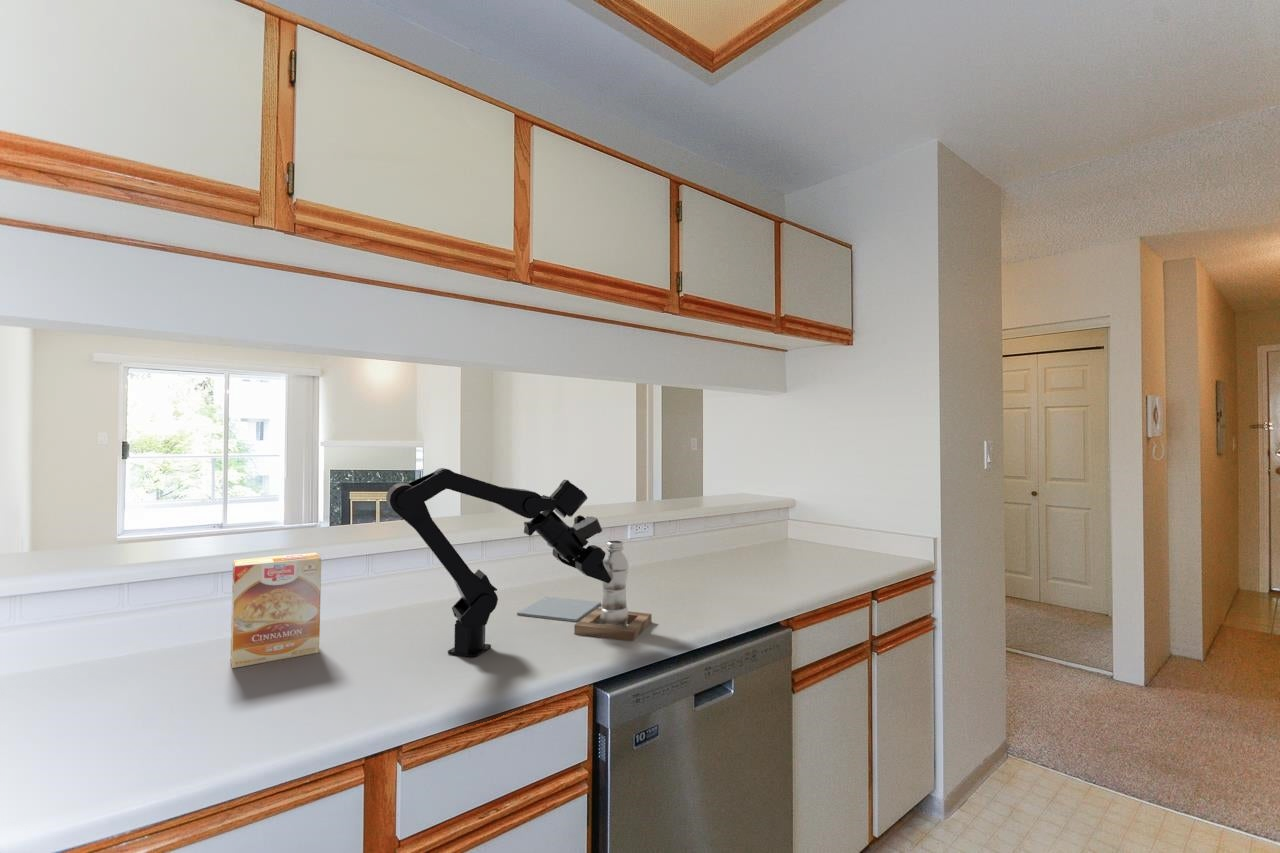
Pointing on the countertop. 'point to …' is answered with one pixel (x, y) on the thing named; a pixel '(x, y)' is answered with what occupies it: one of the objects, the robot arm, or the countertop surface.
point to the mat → (559, 609)
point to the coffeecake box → (275, 608)
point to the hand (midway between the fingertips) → (601, 577)
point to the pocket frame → (630, 632)
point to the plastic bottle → (615, 586)
